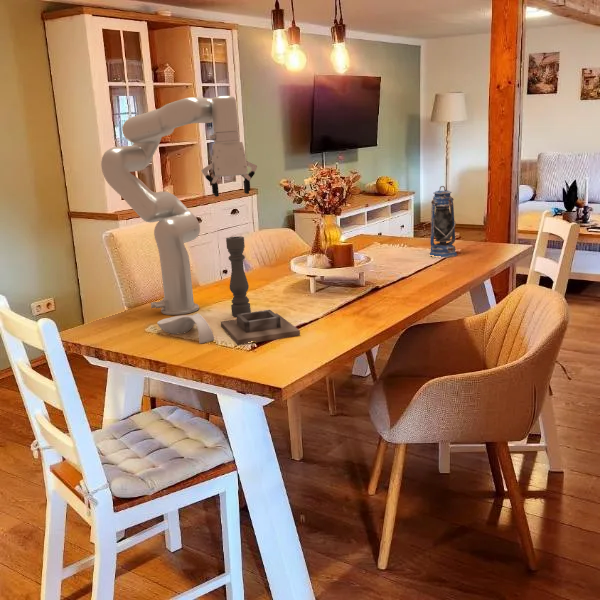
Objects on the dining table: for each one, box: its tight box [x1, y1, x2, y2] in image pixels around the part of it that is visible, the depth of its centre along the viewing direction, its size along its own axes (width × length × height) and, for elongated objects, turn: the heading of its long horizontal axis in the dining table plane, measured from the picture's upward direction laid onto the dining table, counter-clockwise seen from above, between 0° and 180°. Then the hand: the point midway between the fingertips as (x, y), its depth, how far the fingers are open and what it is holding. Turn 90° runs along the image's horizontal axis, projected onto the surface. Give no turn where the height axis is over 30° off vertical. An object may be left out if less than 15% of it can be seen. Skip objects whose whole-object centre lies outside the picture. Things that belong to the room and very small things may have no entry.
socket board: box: [220, 309, 301, 346], centre depth 202 cm, size 18×22×4 cm
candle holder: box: [225, 235, 252, 318], centre depth 219 cm, size 6×6×25 cm
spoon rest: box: [156, 312, 215, 344], centre depth 203 cm, size 24×12×7 cm, turn 38°
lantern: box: [429, 185, 458, 259], centre depth 298 cm, size 15×12×30 cm
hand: (231, 194), depth 214 cm, fingers open, 9 cm apart
